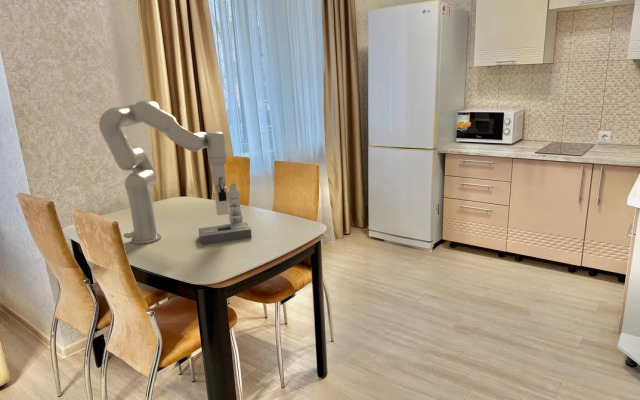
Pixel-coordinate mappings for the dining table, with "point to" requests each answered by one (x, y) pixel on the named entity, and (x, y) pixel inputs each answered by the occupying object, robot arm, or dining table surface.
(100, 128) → the robot arm
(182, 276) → the dining table surface
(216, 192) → the plug
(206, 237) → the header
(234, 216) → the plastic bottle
